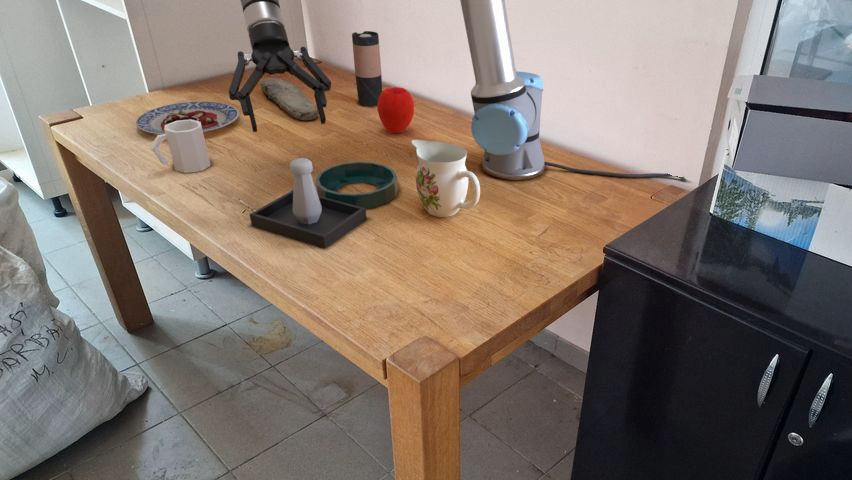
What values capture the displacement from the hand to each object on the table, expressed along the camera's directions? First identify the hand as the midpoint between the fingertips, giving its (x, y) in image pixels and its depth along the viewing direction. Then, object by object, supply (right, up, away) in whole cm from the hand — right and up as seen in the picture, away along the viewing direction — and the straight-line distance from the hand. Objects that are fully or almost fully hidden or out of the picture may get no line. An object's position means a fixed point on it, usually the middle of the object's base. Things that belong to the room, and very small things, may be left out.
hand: (289, 125), depth 133 cm
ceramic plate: (-42, +11, +45) cm, 63 cm away
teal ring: (+11, -12, +14) cm, 21 cm away
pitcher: (+31, -17, +8) cm, 36 cm away
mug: (-32, -5, +22) cm, 39 cm away
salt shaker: (+3, -19, +2) cm, 20 cm away
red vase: (+15, +9, +46) cm, 49 cm away
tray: (+4, -20, +2) cm, 20 cm away
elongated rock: (-20, +21, +62) cm, 69 cm away
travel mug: (+4, +22, +65) cm, 69 cm away
